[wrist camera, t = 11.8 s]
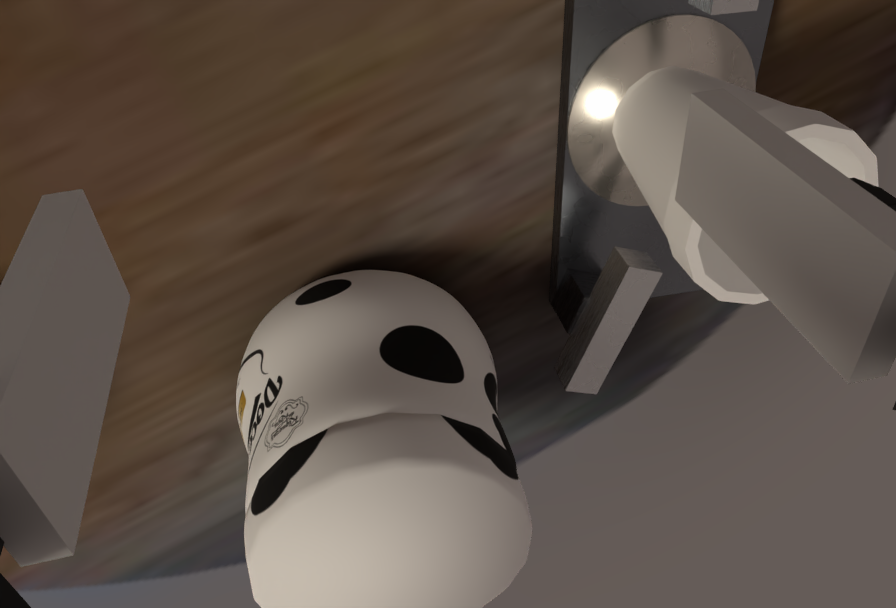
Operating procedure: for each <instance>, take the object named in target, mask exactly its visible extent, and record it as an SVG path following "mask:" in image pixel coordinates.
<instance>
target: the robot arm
mask: <svg viewBox="0 0 896 608" xmlns="http://www.w3.org/2000/svg"><path fill="white" fill-rule="evenodd" d="M675 201H676V202H677V203H678V204H679V205H680V206H681V207H682V208H683V209H684V210H685V211H686V212H687V213H688V214H689V216H690V217H691V218H692V219H693V220H694V221H695V222H696V223H697V224H698V225H699V226H700V227H701V228H702V229H703V230H704V231H705V232H706V234H707V235H708V236H709V237H710V238H711V239H712V240H713V241H714V242H715V243H716V244H717V245H718V246H719V247H720V248H721V249H722V250H723V252H724V253H725V254H726V255H727V256H728V257H729V258H730V259H731V260H732V261H733V262H734V263H735V264H736V265H737V266H738V267H739V269H740V270H741V271H742V272H743V273H744V274H745V275H746V276H747V277H748V278H749V279H750V280H751V281H752V282H753V283H754V284H755V285H756V287H757V288H758V289H759V290H760V291H761V292H762V293H763V294H764V295H765V296H766V297H767V298H768V299H769V300H770V301H771V302H772V303H773V305H774V306H775V307H776V308H777V309H778V310H779V311H780V312H781V313H782V314H783V315H784V316H785V317H786V318H787V319H788V320H789V321H790V322H791V324H792V325H793V326H794V327H796V329H797V330H798V331H799V332H800V333H801V334H802V335H803V336H804V337H805V338H806V340H807V341H808V342H809V343H810V344H811V345H812V346H813V347H814V348H815V349H816V350H817V351H818V352H819V353H820V354H821V355H822V356H823V358H824V359H825V360H826V361H827V362H828V363H829V364H830V365H831V366H832V367H833V368H834V369H835V370H836V371H837V372H838V373H839V374H840V376H841V377H842V378H843V379H844V380H845V381H846V382H847V383H848V384H851V383H855V382H859V381H864V380H869V379H873V378H878V377H882V376H887V375H888V372H889V370H890V368H891V366H892V364H893V362H894V360H895V357H896V198H895V197H893V196H892V195H890V194H889V193H887V192H886V191H884V190H883V189H882V188H879V187H877V186H874V185H872V184H869V183H867V182H864V181H862V180H859V179H857V178H848V177H847V176H845V175H844V174H842V173H841V172H840V171H838V170H837V169H835V168H834V167H833V166H831V165H830V164H828V163H827V162H826V161H824V160H823V159H822V158H820V157H819V156H817V155H816V154H815V153H813V152H812V151H810V150H809V149H808V148H806V147H805V146H803V145H802V144H801V143H799V142H798V141H796V140H795V139H794V138H792V137H791V136H789V135H788V134H787V133H785V132H784V131H782V130H781V129H780V128H778V127H777V126H775V125H774V124H773V123H771V122H770V121H768V120H767V119H766V118H764V117H763V116H761V115H760V114H759V113H757V112H756V111H754V110H753V109H752V108H750V107H749V106H747V105H746V104H745V103H743V102H742V101H740V100H739V99H738V98H736V97H735V96H733V95H732V94H731V93H729V92H728V91H726V90H725V89H724V88H721V89H715V90H708V91H702V92H696V93H692V94H691V100H690V106H689V113H688V119H687V125H686V132H685V138H684V144H683V151H682V157H681V163H680V170H679V176H678V183H677V189H676V195H675ZM129 300H130V295H129V293H128V290H127V288H126V286H125V284H124V281H123V279H122V277H121V275H120V272H119V270H118V268H117V266H116V263H115V261H114V259H113V257H112V254H111V252H110V250H109V248H108V245H107V243H106V241H105V239H104V236H103V234H102V232H101V230H100V227H99V225H98V223H97V220H96V218H95V216H94V214H93V211H92V209H91V207H90V205H89V202H88V200H87V198H86V196H85V193H84V191H83V189H79V190H73V191H67V192H60V193H54V194H48V195H42V197H41V200H40V202H39V204H38V206H37V208H36V210H35V213H34V215H33V217H32V219H31V221H30V223H29V225H28V228H27V230H26V232H25V234H24V236H23V238H22V240H21V243H20V245H19V247H18V249H17V251H16V253H15V255H14V258H13V260H12V262H11V264H10V266H9V268H8V270H7V273H6V275H5V277H4V279H3V281H2V283H1V285H0V555H1V552H2V548H3V546H4V547H5V548H6V549H7V550H8V552H9V553H10V554H11V555H12V557H13V558H14V559H15V560H16V561H17V563H18V564H19V565H20V566H21V567H22V566H27V565H31V564H36V563H40V562H45V561H49V560H54V559H58V558H63V557H68V556H72V555H74V551H75V547H76V542H77V537H78V533H79V528H80V524H81V519H82V515H83V510H84V506H85V501H86V496H87V492H88V487H89V483H90V478H91V474H92V469H93V464H94V460H95V455H96V451H97V446H98V442H99V437H100V432H101V428H102V423H103V419H104V414H105V410H106V405H107V401H108V396H109V391H110V387H111V382H112V378H113V373H114V369H115V364H116V359H117V355H118V350H119V346H120V341H121V337H122V332H123V327H124V323H125V318H126V314H127V309H128V305H129ZM893 410H896V403H895V405H894V407H893ZM0 608H31V607H30V606H29V605H28V604H27V602H26V601H25V600H24V599H23V598H22V597H21V596H20V595H19V594H18V592H17V591H16V590H15V589H14V588H13V587H12V586H11V585H10V583H9V582H8V581H7V580H6V579H5V578H4V577H3V576H2V574H1V573H0Z"/></svg>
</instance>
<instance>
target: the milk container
mask: <svg viewBox="0 0 896 608" xmlns="http://www.w3.org/2000/svg"><path fill="white" fill-rule="evenodd" d="M497 399H498V392H497V376H496V370H495V365H494V361H493V358H492V354H491V352H490V349H489V347H488V344H487V342H486V340H485V338H484V336H483V334H482V333H481V331H480V329H479V327H478V326H477V324H476V323H475V321H474V320H473V319H472V317H471V316H470V315H469V313H468V312H467V311H466V310H465V308H464V307H463V306H462V305H461V304H460V303H459V302H458V301H457V300H456V299H455V298H454V297H453V296H452V295H450V294H449V293H447V292H446V291H445V290H443V289H441V288H440V287H438V286H436V285H434V284H432V283H430V282H428V281H426V280H423V279H421V278H418V277H415V276H413V275H410V274H407V273H402V272H396V271H387V270H375V269H361V270H354V271H349V272H344V273H339V274H334V275H330V276H326V277H323V278H320V279H318V280H316V281H313V282H311V283H309V284H308V285H306V286H304V287H302V288H300V289H299V290H297V291H295V292H293V293H292V294H290V295H289V296H287V297H286V298H284V299H283V300H282V301H281V302H280V303H278V304H277V305H276V306H275V307H274V308H273V309H272V310H271V311H270V312H269V313H268V314H267V315H266V316H265V317H264V319H263V320H262V321H261V322H260V324H259V325H258V327H257V328H256V330H255V332H254V333H253V335H252V337H251V339H250V342H249V344H248V346H247V349H246V352H245V354H244V357H243V360H242V363H241V367H240V371H239V375H238V382H237V391H236V407H237V417H238V422H239V427H240V431H241V434H242V437H243V440H244V443H245V446H246V449H247V452H248V456H249V467H248V479H247V489H246V505H245V511H246V518H245V524H244V540H245V551H246V560H247V566H248V571H249V576H250V581H251V587H252V591H253V597H254V600H255V601H256V602H257V603H258V604H259V605H260V607H262V608H482V607H483V606H485V605H486V604H487V603H489V602H490V601H491V600H493V599H494V598H495V597H496V596H498V595H499V594H500V593H502V592H503V591H504V590H506V589H507V588H508V586H509V585H510V583H511V582H512V581H513V579H514V578H515V576H516V575H517V574H518V572H519V571H520V570H521V568H522V567H523V565H524V564H525V562H526V561H527V557H528V552H529V546H530V541H531V536H532V522H531V517H530V512H529V507H528V503H527V498H526V496H525V493H524V490H523V487H522V484H521V482H520V479H519V477H518V474H517V469H516V462H515V459H514V456H513V453H512V450H511V448H510V445H509V442H508V440H507V438H506V435H505V433H504V430H503V428H502V425H501V423H500V420H499V417H498V413H497Z"/></svg>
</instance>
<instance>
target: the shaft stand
mask: <svg viewBox="0 0 896 608" xmlns="http://www.w3.org/2000/svg"><path fill="white" fill-rule="evenodd" d="M773 3H774V0H565V14H564V32H563V51H562V70H561V88H560V107H559V125H558V144H557V163H556V181H555V200H554V219H553V237H552V256H551V274H550V293H549V301H550V303H551V305H552V307H553V309H554V311H555V312H556V313H557V315H558V317H559V319H560V321H561V323H562V324H563V326H564V328H565V330H566V332H567V333H570V334H571V335H570V337H569V339H568V341H567V343H566V345H565V347H564V349H563V351H562V353H561V355H560V357H559V359H558V361H557V363H556V365H555V367H554V368H555V370H556V372H557V374H558V376H559V379H560V381H561V383H562V385H563V387H564V389H565V391H571V392H580V393H589V394H597V392H598V391H599V389H600V387H601V385H602V383H603V381H604V380H605V378H606V376H607V374H608V372H609V371H610V369H611V367H612V365H613V363H614V361H615V360H616V358H617V356H618V354H619V352H620V350H621V349H622V347H623V345H624V343H625V341H626V339H627V338H628V336H629V334H630V332H631V330H632V329H633V327H634V325H635V323H636V321H637V319H638V318H639V316H640V314H641V312H642V310H643V308H644V307H645V305H646V303H647V301H648V299H649V298H652V297H658V296H665V295H671V294H678V293H684V292H690V291H697V290H703V288H702V287H700V286H699V285H698V284H696V283H695V282H694V281H693V280H692V279H691V277H690V276H689V275H688V274H687V273H686V271H685V270H684V269H683V268H682V267H681V265H680V264H679V263H678V262H677V261H676V260H675V258H674V257H673V255H672V252H671V249H670V246H669V242H668V239H667V237H666V235H665V233H664V232H663V230H662V228H661V226H660V224H659V223H658V221H657V219H656V217H655V216H654V214H653V212H652V210H651V208H650V207H649V205H648V203H647V201H646V200H645V198H644V196H643V194H642V192H641V191H640V189H639V187H638V185H637V184H636V182H635V180H634V178H633V176H632V175H631V173H630V171H629V169H628V168H627V166H626V164H625V162H624V160H623V159H622V157H621V154H620V152H619V151H618V148H617V145H616V142H615V139H614V136H613V133H612V130H613V124H614V118H615V112H616V108H617V107H618V105H619V103H620V102H621V100H622V99H623V97H624V95H625V94H626V92H627V90H628V89H629V87H631V86H632V85H633V84H635V83H636V82H637V81H638V80H640V79H641V78H642V77H644V76H645V75H646V74H647V73H649V72H651V71H655V70H658V69H662V68H665V67H669V66H677V67H682V68H687V69H691V70H694V71H698V72H701V73H704V74H707V75H709V76H712V77H715V78H718V79H720V80H723V81H726V82H729V83H731V84H734V85H737V86H739V87H742V88H745V89H748V90H750V91H753V92H756V80H757V76H758V71H759V67H760V62H761V58H762V53H763V49H764V44H765V39H766V35H767V30H768V26H769V21H770V17H771V12H772V8H773Z"/></svg>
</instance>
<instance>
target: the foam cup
mask: <svg viewBox="0 0 896 608" xmlns="http://www.w3.org/2000/svg"><path fill="white" fill-rule="evenodd" d="M721 88H724V89H725V90H726V91H728V92H729V93H731V94H732V95H733V96H735V97H736V98H738V99H739V100H740V101H742V102H743V103H745V104H746V105H747V106H749V107H750V108H752V109H753V110H754V111H756V112H757V113H759V114H760V115H761V116H763V117H764V118H766V119H767V120H768V121H770V122H771V123H773V124H774V125H775V126H777V127H778V128H780V129H781V130H782V131H784V132H785V133H787V134H788V135H789V136H791V137H792V138H794V139H795V140H796V141H798V142H799V143H801V144H802V145H803V146H805V147H806V148H808V149H809V150H810V151H812V152H813V153H815V154H816V155H817V156H819V157H820V158H822V159H823V160H824V161H826V162H827V163H828V164H830V165H831V166H833V167H834V168H835V169H837V170H838V171H840V172H841V173H842V174H844V175H845V176H847V177H848V178H857V179H859V180H862V181H864V182H867V183H869V184H872V185H874V186H877V187H878V170H877V157H876V156H875V154H874V153H873V152H872V151H871V150H870V149H869V147H868V146H867V145H866V144H865V143H864V142H863V141H862V139H861V138H860V137H859V136H858V135H857V134H856V132H855V131H853V130H852V129H850V128H848V127H847V126H845V125H843V124H842V123H840V122H838V121H837V120H835V119H833V118H831V117H830V116H828V115H826V114H825V113H823V112H821V111H816V110H811V109H806V108H802V107H797V106H792V105H789V104H786V103H783V102H781V101H778V100H775V99H772V98H770V97H767V96H764V95H761V94H759V93H756V92H753V91H750V90H748V89H745V88H742V87H739V86H737V85H734V84H731V83H729V82H726V81H723V80H720V79H718V78H715V77H712V76H709V75H707V74H704V73H701V72H698V71H694V70H691V69H687V68H682V67H677V66H669V67H665V68H662V69H658V70H655V71H651V72H649V73H647V74H646V75H645V76H644V77H642V78H641V79H640V80H638V81H637V82H636V83H635V84H633V85H632V86H631V87H629V89H628V90H627V92H626V94H625V95H624V97H623V99H622V100H621V102H620V103H619V105H618V107H617V108H616V112H615V118H614V124H613V130H612V133H613V136H614V139H615V142H616V145H617V148H618V151H619V152H620V154H621V157H622V159H623V160H624V162H625V164H626V166H627V168H628V169H629V171H630V173H631V175H632V176H633V178H634V180H635V182H636V184H637V185H638V187H639V189H640V191H641V192H642V194H643V196H644V198H645V200H646V201H647V203H648V205H649V207H650V208H651V210H652V212H653V214H654V216H655V217H656V219H657V221H658V223H659V224H660V226H661V228H662V230H663V232H664V233H665V235H666V237H667V239H668V242H669V246H670V249H671V252H672V255H673V257H674V258H675V260H676V261H677V262H678V263H679V264H680V265H681V267H682V268H683V269H684V270H685V271H686V273H687V274H688V275H689V276H690V277H691V279H692V280H693V281H694V282H695V283H696V284H698V285H699V286H700V287H702V288H703V289H704V290H706V291H707V292H708V293H710V294H711V295H712V296H714V297H715V298H716V299H718V300H719V301H726V302H736V303H746V304H758V303H761V302H765V301H768V300H769V299H768V298H767V297H766V296H765V295H764V294H763V293H762V292H761V291H760V290H759V289H758V288H757V287H756V285H755V284H754V283H753V282H752V281H751V280H750V279H749V278H748V277H747V276H746V275H745V274H744V273H743V272H742V271H741V270H740V269H739V267H738V266H737V265H736V264H735V263H734V262H733V261H732V260H731V259H730V258H729V257H728V256H727V255H726V254H725V253H724V252H723V250H722V249H721V248H720V247H719V246H718V245H717V244H716V243H715V242H714V241H713V240H712V239H711V238H710V237H709V236H708V235H707V234H706V232H705V231H704V230H703V229H702V228H701V227H700V226H699V225H698V224H697V223H696V222H695V221H694V220H693V219H692V218H691V217H690V216H689V214H688V213H687V212H686V211H685V210H684V209H683V208H682V207H681V206H680V205H679V204H678V203H677V202H676V201H675V195H676V189H677V183H678V176H679V170H680V163H681V157H682V151H683V144H684V138H685V132H686V125H687V119H688V113H689V106H690V100H691V94H692V93H696V92H702V91H708V90H715V89H721Z"/></svg>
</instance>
